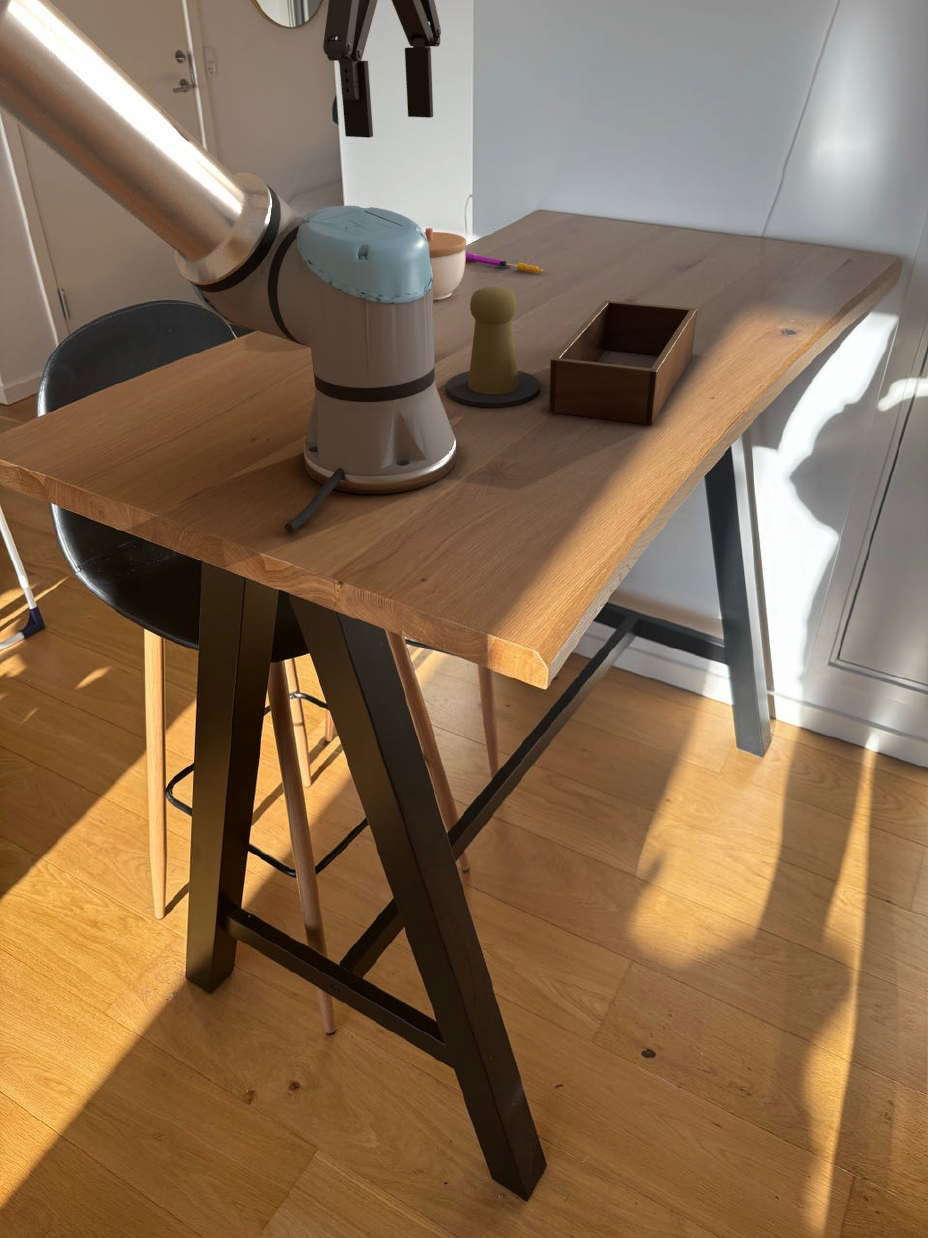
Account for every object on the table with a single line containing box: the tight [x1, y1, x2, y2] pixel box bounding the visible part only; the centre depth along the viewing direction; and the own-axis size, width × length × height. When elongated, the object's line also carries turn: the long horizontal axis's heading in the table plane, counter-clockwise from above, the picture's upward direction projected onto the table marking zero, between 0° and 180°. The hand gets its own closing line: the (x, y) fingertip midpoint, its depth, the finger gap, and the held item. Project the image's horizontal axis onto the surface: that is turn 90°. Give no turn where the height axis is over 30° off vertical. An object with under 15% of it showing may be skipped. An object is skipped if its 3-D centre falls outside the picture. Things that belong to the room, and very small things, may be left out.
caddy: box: [548, 299, 698, 426], centre depth 114 cm, size 23×12×6 cm, turn 158°
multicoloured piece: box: [465, 252, 544, 274], centre depth 159 cm, size 3×1×16 cm
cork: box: [468, 286, 519, 394], centre depth 112 cm, size 6×6×11 cm
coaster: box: [445, 370, 541, 408], centre depth 115 cm, size 11×11×1 cm
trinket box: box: [423, 227, 467, 301], centre depth 145 cm, size 11×11×9 cm
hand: (391, 126), depth 102 cm, fingers open, 13 cm apart
